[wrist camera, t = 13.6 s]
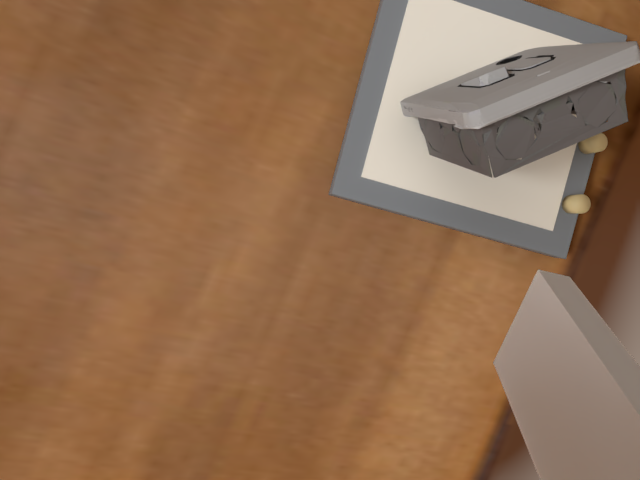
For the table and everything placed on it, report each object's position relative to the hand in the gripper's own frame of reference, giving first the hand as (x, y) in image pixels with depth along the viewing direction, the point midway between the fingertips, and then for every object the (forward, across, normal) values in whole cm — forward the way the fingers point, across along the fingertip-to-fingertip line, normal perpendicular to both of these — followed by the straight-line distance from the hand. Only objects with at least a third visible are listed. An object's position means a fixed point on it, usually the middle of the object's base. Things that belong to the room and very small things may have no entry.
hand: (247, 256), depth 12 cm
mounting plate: (+24, +11, 0) cm, 27 cm away
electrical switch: (+23, +11, +1) cm, 25 cm away
